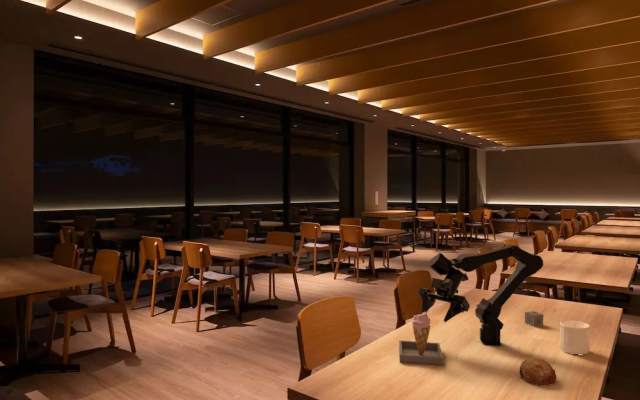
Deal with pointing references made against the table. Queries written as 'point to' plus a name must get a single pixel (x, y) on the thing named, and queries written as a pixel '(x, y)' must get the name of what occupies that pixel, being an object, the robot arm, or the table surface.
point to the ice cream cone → (421, 331)
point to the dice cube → (533, 318)
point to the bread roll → (537, 372)
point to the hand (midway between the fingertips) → (433, 318)
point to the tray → (411, 355)
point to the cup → (574, 337)
